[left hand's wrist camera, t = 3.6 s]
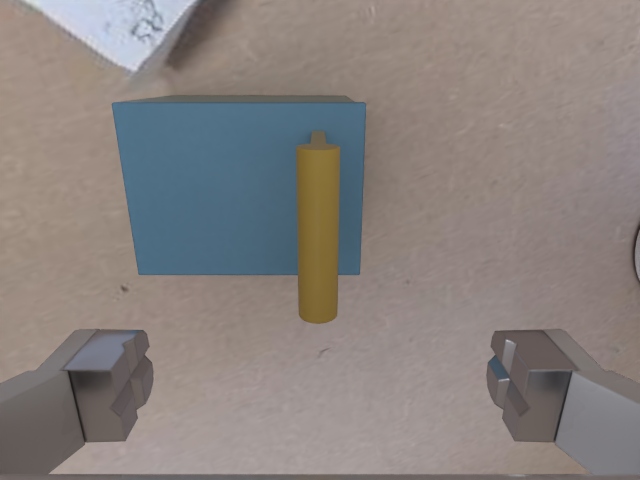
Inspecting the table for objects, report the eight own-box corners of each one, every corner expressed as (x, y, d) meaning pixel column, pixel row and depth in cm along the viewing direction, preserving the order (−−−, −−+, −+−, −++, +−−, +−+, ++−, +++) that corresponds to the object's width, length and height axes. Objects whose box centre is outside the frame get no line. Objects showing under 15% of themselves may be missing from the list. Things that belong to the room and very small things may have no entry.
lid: (364, 102, 23) (387, 114, 15) (358, 269, 27) (375, 348, 19) (117, 101, 23) (16, 114, 15) (143, 269, 27) (71, 348, 19)
